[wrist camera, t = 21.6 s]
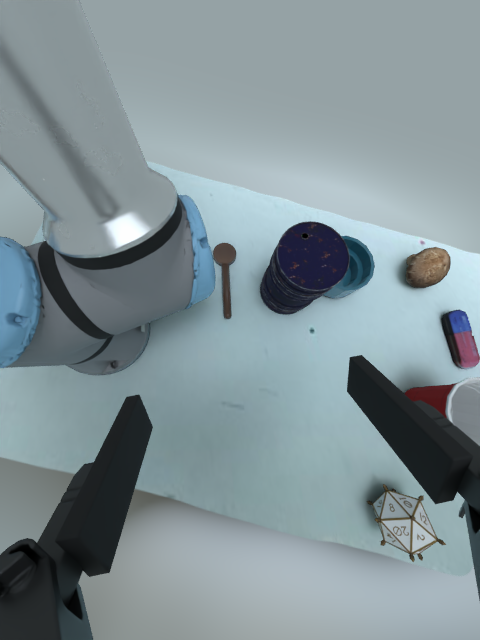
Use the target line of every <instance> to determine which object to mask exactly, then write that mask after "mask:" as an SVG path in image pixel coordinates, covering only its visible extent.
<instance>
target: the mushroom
mask: <svg viewBox="0 0 480 640" xmlns="http://www.w3.org/2000/svg"><path fill="white" fill-rule="evenodd" d="M406 263H407V265H408V267H407V270H406V280H407V283H408V284H410V285H411V286H412V287H416V288H425V287H429V286H432V285H435V284H437V283H438V282H440V281H441V280H442V279H443V278H444V277H445V276H446V275H447V273H448V271H449V269H450V256H449V254H448V253H447V251H446V250H444V249H441V248H437V247H433V248H427V249H424V250H423V251H421V252H419V253H418V254H413V255H411V256H409V257H408V258H407V260H406Z"/></svg>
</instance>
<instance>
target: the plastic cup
mask: <svg viewBox="0 0 480 640" xmlns="http://www.w3.org/2000/svg"><path fill="white" fill-rule="evenodd" d="M405 395H406V396H407V397H408V398H409V399H411V400H412V401H418V400H421V401H423V402H425V403H427V404H429V405H431V406H433V407H434V408H435V409H437V410H438V411H439V412H440V413H441V414H442V415H444V417H445V418H447V419H448V420H450V421H451V422H452V423H453V425H454V426H457V427H458V428H459V429H460V430H461V431H463V432H464V433H465V434H466V435H467V436H468V437H470V438H471V439H472V440H473V441H474V442H476V443H477V444H478V445H479V446H480V377H477V378H466V379H464V380H463V381H461V382H459V383H456V384H451V385H440V386H426V387H417V388H411V389H409V390H407V391H406V392H405Z"/></svg>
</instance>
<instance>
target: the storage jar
mask: <svg viewBox="0 0 480 640" xmlns="http://www.w3.org/2000/svg"><path fill="white" fill-rule="evenodd" d="M349 262H350V257H349V251H348V247H347V245H346V243H345V241H344V239H343V238H342V237H341V236H340V234H339V233H338V232H336V231H335V230H334V229H333V228H331V227H329V226H327V225H325V224H322V223H318V222H302V223H299V224H296V225H294V226H292V227H291V228H289V229H288V230H287V231H286V232H285V233H284V234H283V235H282V237H281V239H280V241H279V243H278V245H277V247H276V248H275V250H274V253H273V255H272V257H271V260H270V265H269V266H268V268H267V270H266V272H265V274H264V276H263V279H262V282H261V287H260V292H261V297H262V299H263V301H264V303H265V304H266V306H267V307H268V308H270V309H271V310H272V311H274V312H276V313H279V314H292V313H295V312H297V311H299V310H301V309H303V308H304V307H306V306H308V305H309V304H310V303H311V302H312V301H313V300H315V299H317V298H319V297H321V296H322V295H324V294H325V293H326V292H328V291H329V290H330V289H331V288H332V287H333V286H335V285H336V284H338V283H339V282H340V281H341V280H342V279H343V278H344V276H345V275H346V273H347V271H348V267H349Z"/></svg>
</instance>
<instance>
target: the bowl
mask: <svg viewBox="0 0 480 640" xmlns="http://www.w3.org/2000/svg"><path fill="white" fill-rule="evenodd" d="M341 237H342V238H343V239H344V241H345V243H346V245H347V247H348V251H349V257H350V262H349V267H348V271H347V273H346V275H345V276H344V278H343V279H342V280H341V281H340V282H339V283H338V284H336V285H335V286H333V287H332V288H331V289H330V290H329V291H328V292H326V293H325V294H324V296H328V297H331V298H341V297H345V296H346V295H348V294H350V293H352V292H354V291H356V290H358V289H359V288H361V287H363V286H365V285H367V283H368V282H369V281H370V279H371V278H372V276H373V272H374V267H375V265H374V261H373V256H372V254H371V252H370V251H369V249H368V248H367V246H366V245H364V244H363V243H362V242H360V241H359V240H358V239H355V238H352V237H348V236H341Z"/></svg>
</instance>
